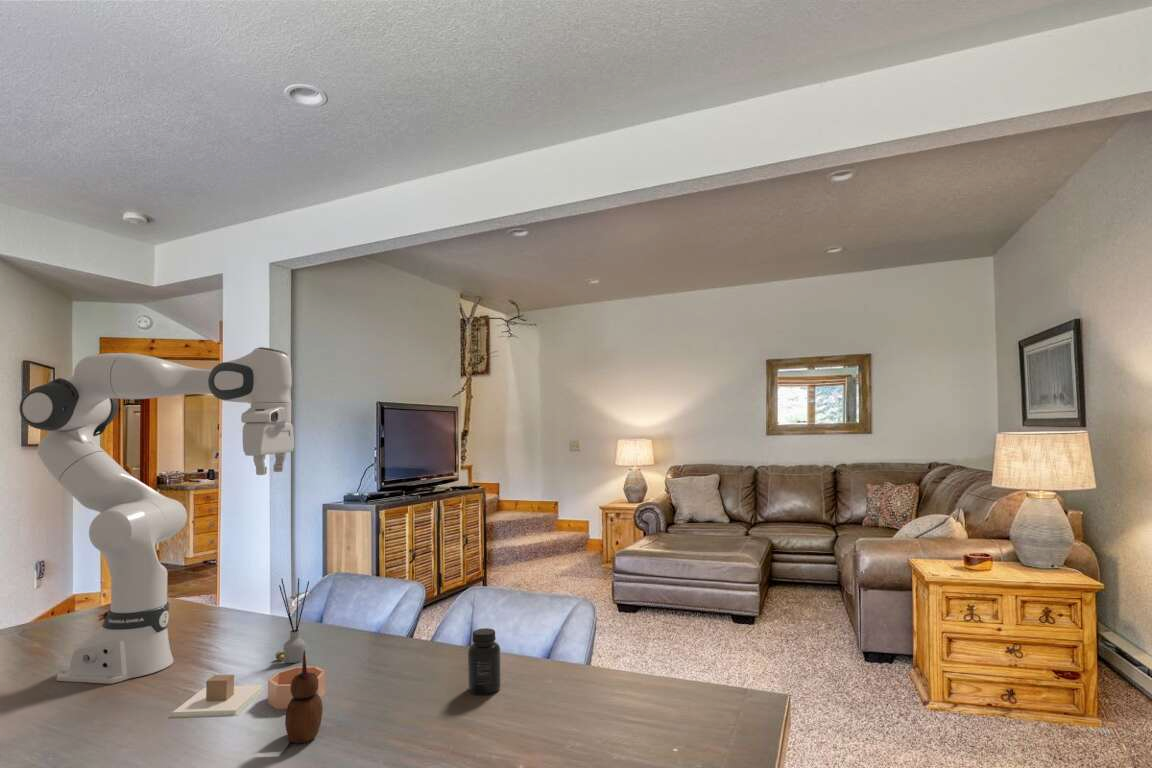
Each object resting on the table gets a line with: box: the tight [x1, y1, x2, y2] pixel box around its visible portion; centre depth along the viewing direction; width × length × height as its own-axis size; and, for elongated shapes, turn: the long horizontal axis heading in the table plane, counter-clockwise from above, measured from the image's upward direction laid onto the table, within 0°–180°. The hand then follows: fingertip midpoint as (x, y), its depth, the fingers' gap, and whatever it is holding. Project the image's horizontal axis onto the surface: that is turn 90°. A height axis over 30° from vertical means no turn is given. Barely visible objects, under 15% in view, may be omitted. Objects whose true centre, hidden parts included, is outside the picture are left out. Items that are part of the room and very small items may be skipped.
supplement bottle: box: [467, 628, 502, 696], centre depth 137 cm, size 7×7×12 cm
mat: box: [168, 687, 267, 719], centre depth 131 cm, size 13×13×1 cm
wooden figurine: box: [284, 649, 324, 744], centre depth 117 cm, size 7×6×15 cm
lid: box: [171, 674, 264, 716], centre depth 131 cm, size 12×12×5 cm
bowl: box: [267, 665, 327, 710], centre depth 132 cm, size 10×10×5 cm
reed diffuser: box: [275, 578, 310, 664], centre depth 153 cm, size 10×7×20 cm
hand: (270, 473), depth 153 cm, fingers open, 8 cm apart
